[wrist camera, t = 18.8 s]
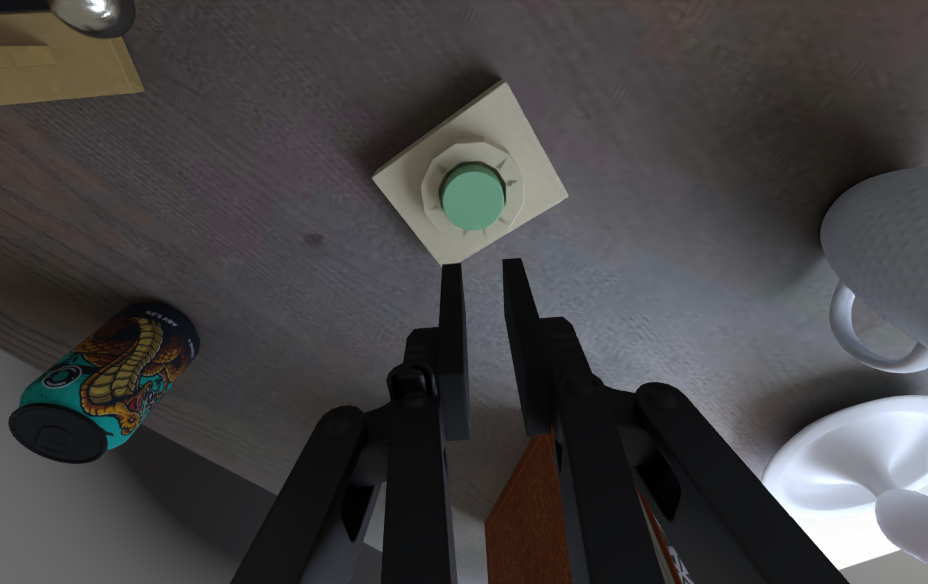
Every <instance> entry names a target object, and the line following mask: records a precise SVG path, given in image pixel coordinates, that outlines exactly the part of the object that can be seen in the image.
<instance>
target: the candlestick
mask: <svg viewBox="0 0 928 584" xmlns="http://www.w3.org/2000/svg"><path fill="white" fill-rule="evenodd" d="M761 483H762V484H763V485H764V486H765V487H766V488H767V490H768V491H769V492H770V493H771V494H772V495H773V496H774V498H775V499H776V500H777V501H778V502H779V503H780V504H781V506H782V507H783V508H784V509H785V510H786V511H787V512H788V514H789V515H790V516H793V517H798V518H806V519H828V518H838V517H844V516H850V515H855V514H859V513H863V512H866V511H870V510H873V509H875V513H876V518H877V521H878V524H879V526H880V528H881V530H882V532H883V533H884V535H885V536H886V537H887V539H889V540H890V541H891V542H892V543H893V544H894V545H895V546H897V547H898V548H900V549H901V550H903V551H904V552H906V553H908V554H910V555H911V556H913V557H915V558H917V559H919V560H921V561H923V562H925V563H926V564H927V565H928V496H926V495H923V494H920V493H918V492H915V491H917V490H919V489H921V488H922V487H924V486H925V485H927V484H928V396H925V395H903V396H894V397H887V398H881V399H877V400H872V401H868V402H865V403H861V404H858V405H854V406H851V407H848V408H844V409H841V410H838V411H836V412H833V413H831V414H829V415H826V416H824V417H822V418H820V419H818V420H816V421H815V422H813V423H811V424H810V425H808V426H806V427H805V428H803V429H802V430H801V431H799V432H798V433H797V434H796V435H794V436H793V437H792V438H791V439H790V440H789V441H788V442H786V443H785V444H784V445H783V446H782V447H781V448H780V449H779V450H778V451H777V452H776V453H775V454H774V456H773V457H772V458H771V459H770V461H769V462H768V464H767V465H766V467H765V469H764V471H763V474H762V477H761Z"/></svg>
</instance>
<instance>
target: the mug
mask: <svg viewBox="0 0 928 584" xmlns="http://www.w3.org/2000/svg"><path fill="white" fill-rule="evenodd" d="M820 239H821V244H822V248H823V251H824V253H825V257H826V259H827V260H828V262H829V264H830V265H831V268H832V269H833V270H834V271H835V272H836V274H837V276H838V277H839V278H840V281H839V283H838V286H837V288H836V290H835V292H834V295H833V298H832V301H831V306H830V313H829V318H830V325H831V329H832V331H833V334H834V336H835V338H836V339H837V341H838V342H839V344H840V345H841V346H842V348H843V349H844V350H845V351H846V352H847V353H849V354H850V355H851V356H852V357H854V358H855V359H856V360H858V361H860V362H861V363H863V364H865V365H867V366H870V367H872V368H875V369H879V370H883V371H887V372H894V373H912V372H917V371H921V370H924V369H927V368H928V167H915V168H910V169H901V170H898V171H893V172H888V173H884V174H881V175H877V176H874V177H871V178H868V179H866V180H864V181H862V182H860V183H858V184H856V185H855V186H853V187H851V188H850V189H849V190H847V191H846V192H844V193H843V194H842V195H841V196H840V197H839V198H838V199H837V200H836V201H835V202H834V203H833V204H832V206H831V207H830V208H829V210H828V211H827V213H826V215H825V217H824V219H823V222H822V225H821V231H820ZM855 296H856V297H858V298H859V299H860V300H861V301H862V302H863V303H864V304H866V305H867V306H868V307H869V308H871V309H872V310H874V311H875V312H876V313H877V314H878V315H880V316H881V317H882V318H883V319H885V320H887V321H889V322H890V323H891V324H892V325H893V326H894V327H896V328H898V329H900V330H901V331H903V332H904V333H906V334H907V335H908V336H910V337H912V338H913V339H914V340H916V341H918V343H917V344H916V346H915V347H914V349H913V350H912V352H911V353H910V354H909V355H908V356H906V357H904V358H902V359H899V360H888V359H884V358H881V357H879V356H877V355H876V354H874V353H872V352H871V351H870V350H868V349H867V348H866V347H865V346H864V345H863V344H862V343H861V342H860V341H859V339H858V338H857V336H856V334H855V332H854V330H853V327H852V322H851V308H852V303H853V300H854V297H855Z"/></svg>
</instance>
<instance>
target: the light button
mask: <svg viewBox="0 0 928 584" xmlns="http://www.w3.org/2000/svg"><path fill="white" fill-rule="evenodd" d="M503 206H504V194H503V190H502V187H501V184H500V182H499V180H498V178H497V176H496V175H495V174H494V173H493V172H492V171H491V170H490V169H488V168H486V167H484V166H481V165H476V164H470V165H465V166H462V167H459V168H458V169H456V170H455V171H453V172H452V173H451V174H450V176H449V177H448V178H447V180H446V182H445V185H444V189H443V209H444V212H445V214H446V216H447V217H448V219H449V220H450V221H451V222H452V223H453V224H454V225H456V226H457V227H459V228H462V229H465V230H471V231H475V230H481V229H484V228H486V227H488V226H490V225H491V224H493V223H494V222H495V221H496V220H497V219H498V217H499V216H500V214H501V212H502V210H503Z"/></svg>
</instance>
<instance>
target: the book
mask: <svg viewBox="0 0 928 584" xmlns="http://www.w3.org/2000/svg"><path fill="white" fill-rule="evenodd" d="M554 438H555V436H554V432H553V428H552V424H551V434H542V435H534V436H533V438H532V440H531V442H530V443H529V445H528V447H527V449H526V451H525V452H524V454H523V456H522V458H521V459H520V461H519V463H518V465H517V467H516V468H515V470H514V472H513V474H512V476H511V477H510V479H509V481H508V483H507V484H506V486H505V488H504V490H503V492H502V493H501V495H500V497H499V499H498V501H497V502H496V504H495V506H494V508H493V510H492V511H491V513H490V515H489V517H488V518H487V520H486V522H485V538H486V554H487V570H488V584H573V583H572V576H571V568H570V561H569V554H568V546H567V539H566V532H565V524H564V517H563V510H562V502H561V495H560V488H559V481H558V473H557V466H556V464H553V459H554ZM633 480H634V479H633ZM634 483H635V481H634ZM635 487H636V490H637V493H638V496H639V500H640V503H641V506H642V509H643V513H644V516H645V519H646V522H647V526H648V529H649V532H650V536H651V539H652V542H653V545H654V549H655V552H656V555H657V558H658V562H659V565H660V568H661V572H662V575H663V578H664V581H665V584H683V583H682V581H681V579H680V576H679V574H678V571H677V569H676V567H675V564H674V562H673V560H672V557H671V555H670V552H669V550H668V548H667V545H666V543H665V541H664V538H663V536H662V533H661V531H660V529H659V526H658V524H657V521H656V519H655V517H654V514H653V512H652V510H651V508H650V507H649V505H648V503H647V502H646V500H645V498H644V496H643V495H642V493H641V491H640V490H639V488H638V486H637V484H636V483H635Z"/></svg>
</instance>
